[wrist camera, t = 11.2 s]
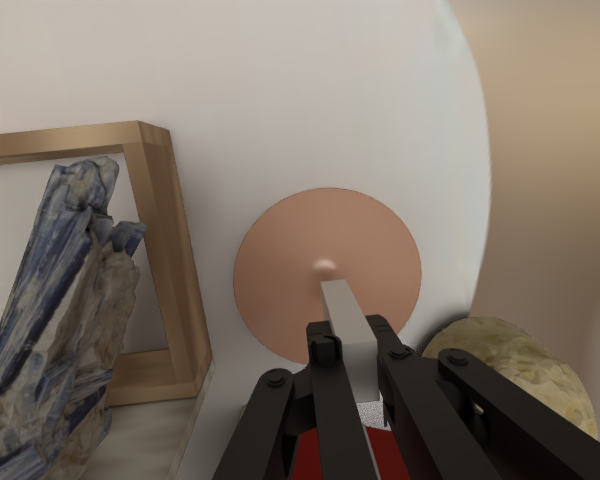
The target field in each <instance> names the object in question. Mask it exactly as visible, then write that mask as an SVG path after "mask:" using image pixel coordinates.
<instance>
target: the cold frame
mask: <svg viewBox="0 0 600 480" xmlns="http://www.w3.org/2000/svg"><path fill="white" fill-rule="evenodd" d="M119 152H124V155H125V159H126V164H127V168H128V172H129V177H130V181H131V185H132V190H133V194H134V198H135V203H136V207H137V211H138V216H139V220H140V222H142V223H143V224H145V225H146V227H147V230H146V231H145V233H144V235H143V238H144V242H145V246H146V251H147V255H148V259H149V264H150V268H151V272H152V277H153V281H154V285H155V290H156V294H157V298H158V303H159V307H160V312H161V316H162V320H163V325H164V329H165V333H166V338H167V342H168V346H169V349H167V350H158V351H149V352H140V353H131V354H122V355H119V356H118V357H117V358H116V360H115V364H114V365H113V366H112V368H111V369H113V377H112V380H111V381H110V382H108V383H107V384H108V387H109V397H110V401H109V405H108V408H110V409H111V411H112V425H111V428H110V431H109V434H108V435H107V436H106V437H105V438H104V440H103V441H102V442H101V443H100V444H99V446H98V448H97V449H96V451H95V452H94V453H93V456H92V459H91V461H90V463H89V465H88V467H87V468H86V470H85V472H84V473H83V474H82V475H81V476H80V477H79V478H78V479H77V480H174V479H175V476H176V473H177V470H178V468H179V465H180V462H181V459H182V457H183V454H184V451H185V448H186V446H187V443H188V440H189V437H190V435H191V432H192V429H193V426H194V424H195V421H196V418H197V415H198V413H199V410H200V407H201V404H202V402H203V399H204V396H205V393H206V391H207V388H208V385H209V383H210V380H211V377H212V374H213V372H214V369H215V367H214V362H213V359H212V352H211V346H210V341H209V336H208V331H207V326H206V320H205V315H204V310H203V305H202V300H201V294H200V289H199V284H198V279H197V274H196V268H195V263H194V258H193V253H192V247H191V242H190V237H189V232H188V227H187V221H186V216H185V211H184V206H183V201H182V195H181V190H180V185H179V180H178V175H177V169H176V164H175V159H174V154H173V149H172V143H171V138H170V133H169V130H166V129H163V128H160V127H157V126H154V125H151V124H147V123H144V122H141V121H138V120H137V121H127V122H117V123H107V124H97V125H87V126H77V127H67V128H56V129H46V130H36V131H26V132H16V133H6V134H0V164H10V163H20V162H30V161H40V160H50V159H59V158H69V157H79V156H89V155H99V154H109V153H119Z"/></svg>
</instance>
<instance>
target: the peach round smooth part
mask: <svg viewBox="0 0 600 480" xmlns="http://www.w3.org/2000/svg"><path fill="white" fill-rule="evenodd" d="M342 279H346V281H347V283H348V285H349V287H350V289H351V291H352V293H353V295H354V297H355V299H356V301H357V303H358V305H359V306H360V308H361V310H362V312H363V314H364V316H366V315H375V314H379V315H381V316H382V317H384V318H386V320H387V321H388V323H389V324H390V326H391V327H392V329H393V330H394V332H395V333H396V335H397V334H398V333H399V332H400V331H401V329H402V328H403V327H404V325H405V324H406V322H407V321H408V319H409V318H410V316H411V314H412V312H413V310H414V308H415V305H416V302H417V299H418V296H419V291H420V286H421V262H420V257H419V253H418V249H417V246H416V244H415V241H414V239H413V237H412V235H411V233H410V232H409V230H408V228H407V227H406V226H405V224H404V223H403V222H402V220H401V219H400V218H399V217H398V216H397V215H396V214H395V213H394V212H393V211H392V210H390V209H389V208H388V207H386V206H385V205H384V204H382V203H380V202H379V201H377V200H375V199H373V198H371V197H369V196H366V195H364V194H361V193H358V192H355V191H350V190H346V189H337V188H321V189H314V190H308V191H304V192H301V193H298V194H295V195H293V196H290V197H288V198H286V199H284V200H282V201H280V202H279V203H277V204H276V205H274V206H273V207H271V208H270V209H269V210H268V211H266V212H265V213H264V214H263V215H262V216H261V217H260V218H259V219H258V220H257V221H256V223H255V224H254V225H253V226H252V228H251V229H250V231H249V232H248V234H247V235H246V237H245V239H244V241H243V243H242V245H241V247H240V249H239V252H238V255H237V258H236V263H235V268H234V280H233V284H234V294H235V299H236V303H237V306H238V309H239V312H240V314H241V317H242V318H243V320H244V322H245V324H246V326H247V327H248V328H249V330H250V331H251V332H252V334H253V335H254V336H255V337H256V338H257V339H258V340H259V341H260V342H261V343H262V344H263V345H265V346H266V347H267V348H268V349H270V350H271V351H273V352H274V353H276V354H278V355H279V356H282V357H284V358H286V359H288V360H291V361H294V362H297V363H301V364H306V365H308V363H309V354H308V345H307V335H306V327H307V325H308V324H309V322H318V321H324V317H323V306H322V294H321V283H320V282H323V281H332V280H342Z"/></svg>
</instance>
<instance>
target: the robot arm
mask: <svg viewBox="0 0 600 480" xmlns="http://www.w3.org/2000/svg"><path fill="white" fill-rule="evenodd" d="M320 283H321V294H322V306H323V317H324V321H318V322H309V324H308V325H307V327H306V335H307V345H308V354H309V363H308V365H307V366H306V367H305V369H303V370H302V371H300V372H298V373H295V374H292V373H291V372H290V371H288V370H287V369H282V368H277V369H272V370H269V371H267V372H265V373H264V374H262V376H261V377H260V378H259V380H258V382H257V385H256V387H255V389H254V391H253V393H252V395H251V397H250V399H249V402H248V404H247V406H246V408H245V410H244V412H243V414H242V417H241V419H240V421H239V423H238V425H237V427H236V429H235V431H234V434H233V436H232V438H231V440H230V442H229V444H228V446H227V448H226V451H225V453H224V455H223V457H222V459H221V461H220V463H219V466H218V468H217V470H216V472H215V474H214V476H213V478H212V480H292V476H293V471H294V466H295V462H296V457H297V453H298V448H299V444H300V434H302V433H305V432H307V431H309V430H311V429H314V428H316V427H317V436H318V444H319V453H320V462H321V471H322V479H323V480H378V477H377V474H376V471H375V467H374V464H373V460H372V457H371V453H370V450H369V447H368V443H367V440H366V436H365V433H364V430H363V426H362V423H361V419H360V416H359V412H358V409H357V406H356V403H362V402H371V401H380V394H379V390H380V392H381V395H382V397H383V415H384V427H387V420H388V423H389V425H390V428H391V430H392V433H393V435H394V438H395V440H396V443H397V446H398V448H399V451H400V453H401V456H402V458H403V461H404V463H405V466H406V469H407V471H408V474H409V476H410V479H411V480H600V442H598V441H597V440H596V439H594V438H593V437H591V436H590V435H588V434H587V433H585V432H584V431H583V430H581V429H580V428H578V427H577V426H575V425H574V424H572V423H571V422H569V421H568V420H567V419H565V418H564V417H562V416H561V415H559V414H558V413H556V412H555V411H554V410H552V409H551V408H549V407H548V406H546V405H545V404H543V403H542V402H541V401H539V400H538V399H536V398H535V397H533V396H532V395H530V394H529V393H527V392H526V391H525V390H523V389H522V388H520V387H519V386H517V385H516V384H514V383H513V382H512V381H510V380H509V379H507V378H506V377H504V376H503V375H501V374H500V373H499V372H497V371H496V370H494V369H493V368H491V367H490V366H488V365H487V364H486V363H484V362H483V361H481V360H480V359H478V358H477V357H475V356H474V355H472V354H471V353H469V352H467V351H465V350H461V349H458V348H446V349H443V350H441V351H440V352H439V353H438V359H436V358H426V357H420V356H418V355H417V354H416V353H415V351H414V350H413V349H412V348H410V347H408V346H406V345H403V344H402V343H401V341H400V340H399V338H398V336H397V335H396V333H395V332H394V330H393V329H392V327H391V326H390V324H389V323H388V321H387V320H386V318H384V317H382V316H381V315H379V314H375V315H366V316H364V314H363V312H362V310H361V308H360V306H359V305H358V303H357V301H356V299H355V297H354V295H353V293H352V291H351V289H350V287H349V285H348V283H347V281H346V279H342V280H332V281H323V282H320ZM476 404H477V405H478V406H479V407H480V408H481V409H482V410H483V412H481V411H480V410H479V409H478V408H477V407H476Z"/></svg>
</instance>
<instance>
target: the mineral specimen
mask: <svg viewBox="0 0 600 480" xmlns="http://www.w3.org/2000/svg"><path fill="white" fill-rule="evenodd" d="M118 173H119V165H118V164H117V162H116V161H114V160H112V159H110V158H108V157H107V156H104V157H98V158H92V159H88V160H84V161H80V162H75V163H74V164H72V165H71V166H69V167H65V166H60V165H55V167H54V169H53V171H52V173H51V176H50V178H49V180H48V183H47V187H46V190H45V193H44V196H43V199H42V202H41V204H40V206H39V209H38V212H37V215H36V219H35V222H34V226H33V229H32V232H31V235H30V239H29V242H28V244H27V247H26V250H25V253H24V256H23V259H22V261H21V264H20V267H19V270H18V273H17V276H16V279H15V282H14V284H13V287H12V290H11V293H10V296H9V299H8V302H7V305H6V307H5V310H4V313H3V316H2V319H1V321H0V480H77V479H78V478H79V477H80V476H81V475H82V474H83V473H84V472H85V470H86V468H87V467H88V465H89V463H90V461H91V459H92V456H93V453H94V452H95V451H96V449H97V448H98V446H99V444H100V443H101V442H102V441H103V440H104V438H105V437H106V436H107V435H108V434H109V431H110V428H111V425H112V411H111V409H110V408H108V405H109V401H110V397H109V387H108V384H107V383H108V382H110V381H111V380H112V377H113V369H111V368H112V366H113V365H114V364H115V360H116V358H117V357H118V356H119V355H120V354H121V353H122V351H123V349H124V348H123V336H124V333H125V328H126V324H127V321H128V318H129V316H130V315H131V312H132V309H133V306H134V303H135V299H136V295H135V288H136V285H137V283H138V281H139V278H140V275H141V274H140V271H139V268H138V267H137V266H136V267H135V266H134V262H133V260H131V258H132V256H133V254H134V252H135V250H136V248H137V246H138V244H139V243H140V241H141V239H142V237H143V235H144V233H145V231H146V230H147V227H146V225H145V224H143V223H142V222H140V223H134V222H128V221H120V222H119V223H118V225H117V226H116V227H112V226H113V224H114V222H113V219H112V216H108V215H107V206H108V203H109V201H110V198H111V196H112V193H113V190H114V186H115V182H116V179H117V176H118ZM111 228H112V229H111Z"/></svg>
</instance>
